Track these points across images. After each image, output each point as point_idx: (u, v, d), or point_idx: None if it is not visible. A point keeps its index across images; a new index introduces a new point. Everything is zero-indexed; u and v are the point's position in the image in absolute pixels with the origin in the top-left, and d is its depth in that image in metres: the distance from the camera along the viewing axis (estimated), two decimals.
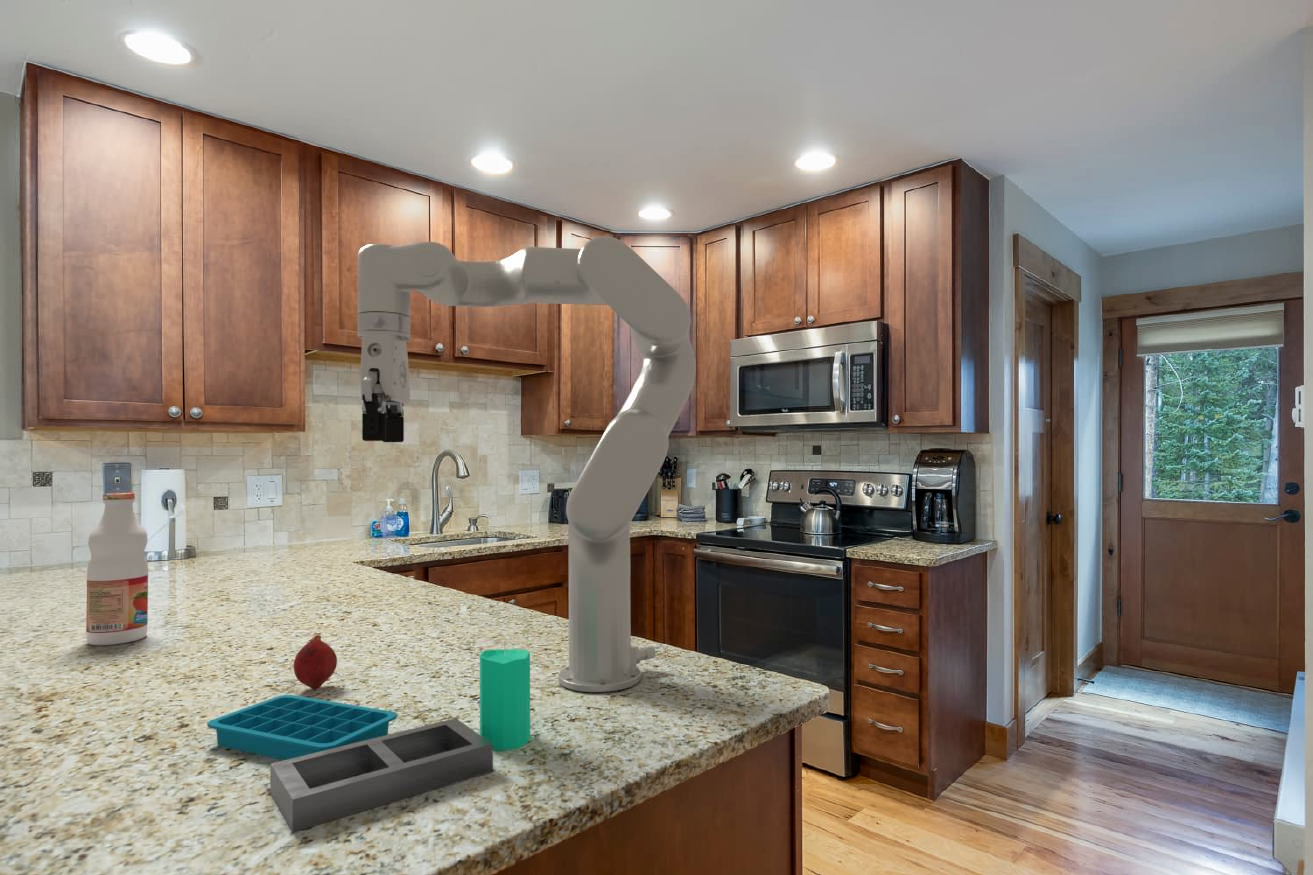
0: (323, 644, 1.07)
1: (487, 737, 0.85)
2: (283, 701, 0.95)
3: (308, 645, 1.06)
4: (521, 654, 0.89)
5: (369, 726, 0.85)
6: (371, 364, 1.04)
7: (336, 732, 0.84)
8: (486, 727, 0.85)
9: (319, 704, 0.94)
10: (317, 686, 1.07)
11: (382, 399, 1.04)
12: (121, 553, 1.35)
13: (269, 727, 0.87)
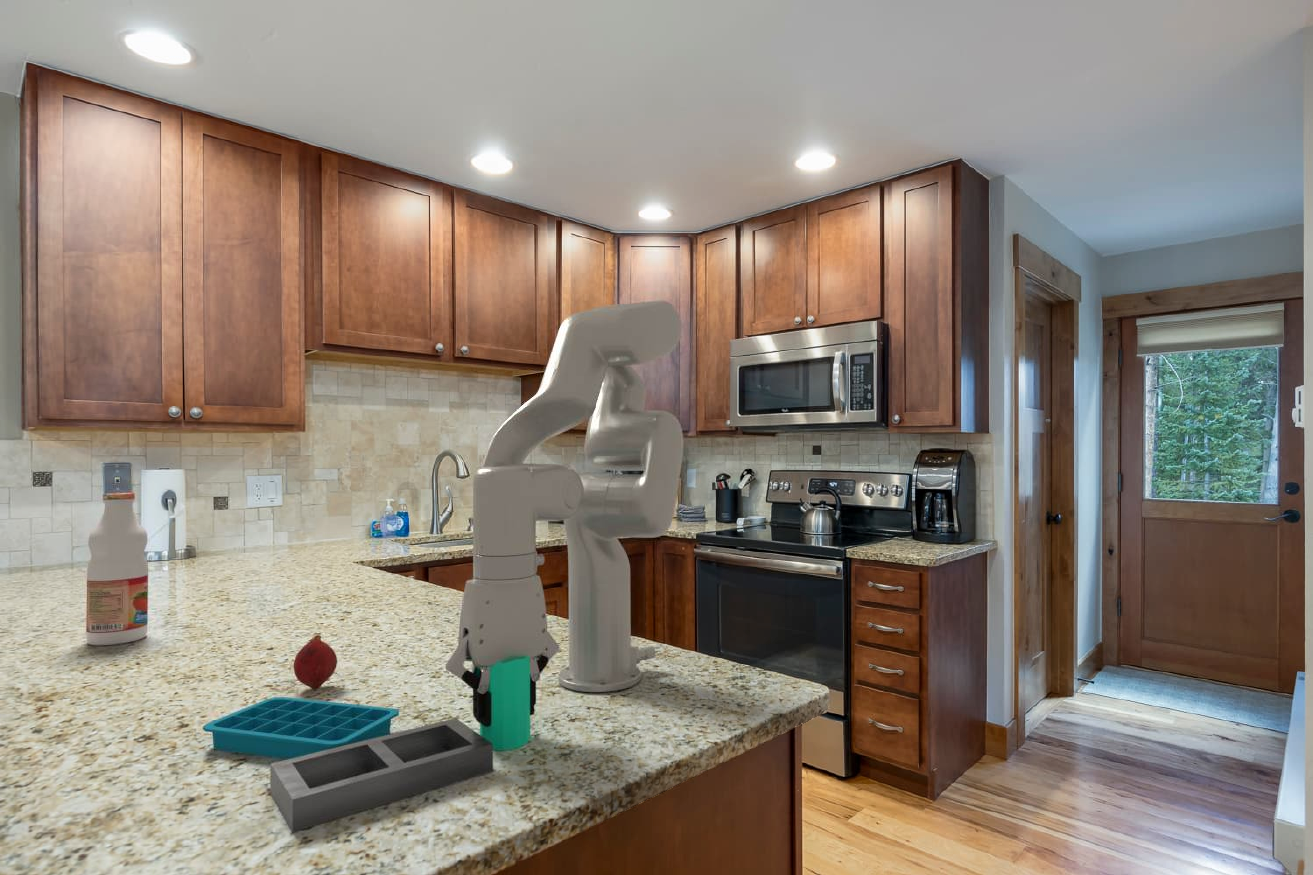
0: (323, 644, 1.07)
1: (487, 737, 0.85)
2: (275, 703, 0.95)
3: (308, 645, 1.06)
4: None
5: (375, 722, 0.86)
6: None
7: (342, 730, 0.84)
8: (486, 727, 0.85)
9: (314, 704, 0.93)
10: (317, 686, 1.07)
11: None
12: (121, 553, 1.35)
13: (268, 728, 0.86)
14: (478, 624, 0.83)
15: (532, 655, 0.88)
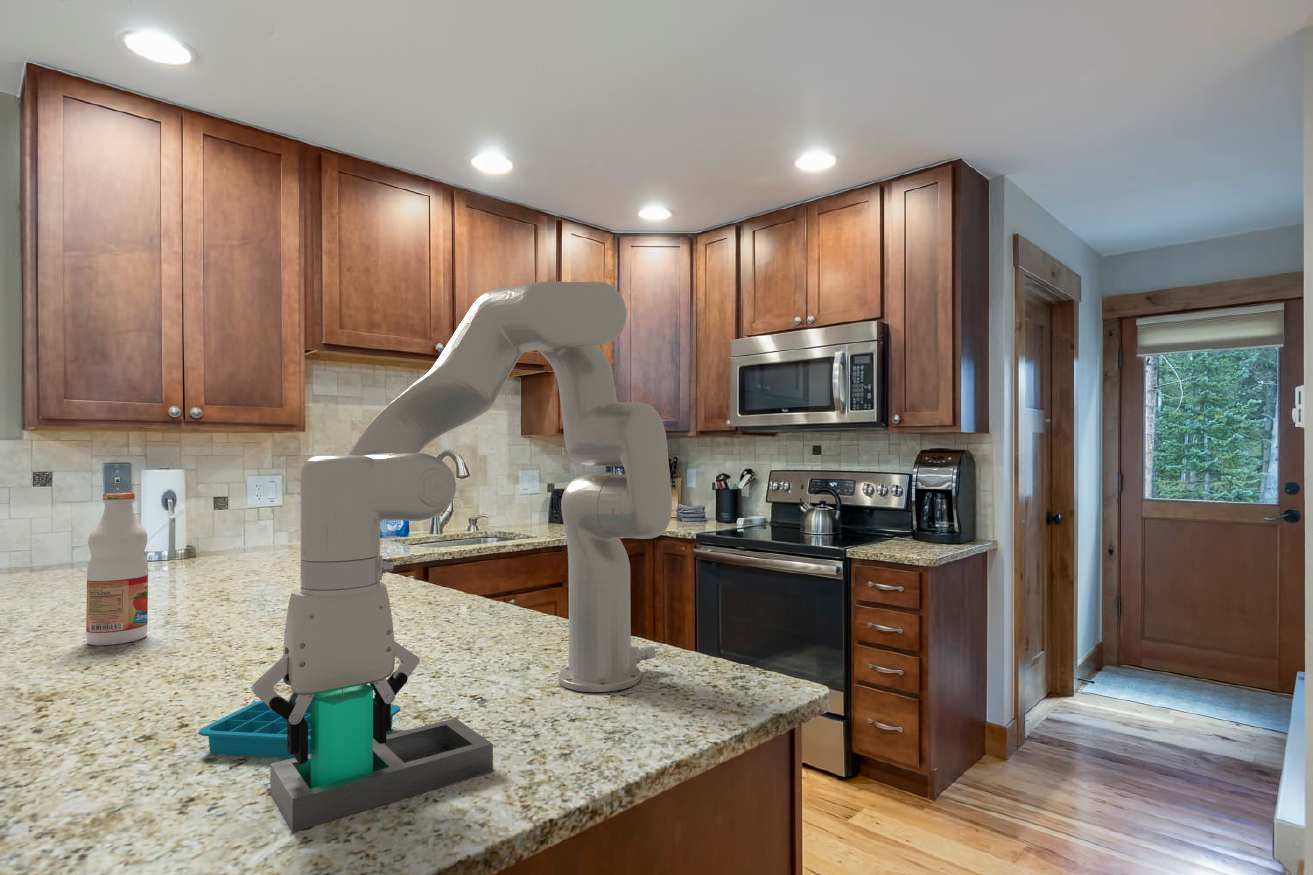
0: None
1: None
2: (263, 706, 0.94)
3: None
4: (364, 691, 0.75)
5: None
6: None
7: None
8: (314, 780, 0.71)
9: None
10: None
11: None
12: (121, 553, 1.35)
13: (268, 730, 0.86)
14: (299, 644, 0.70)
15: (374, 678, 0.74)
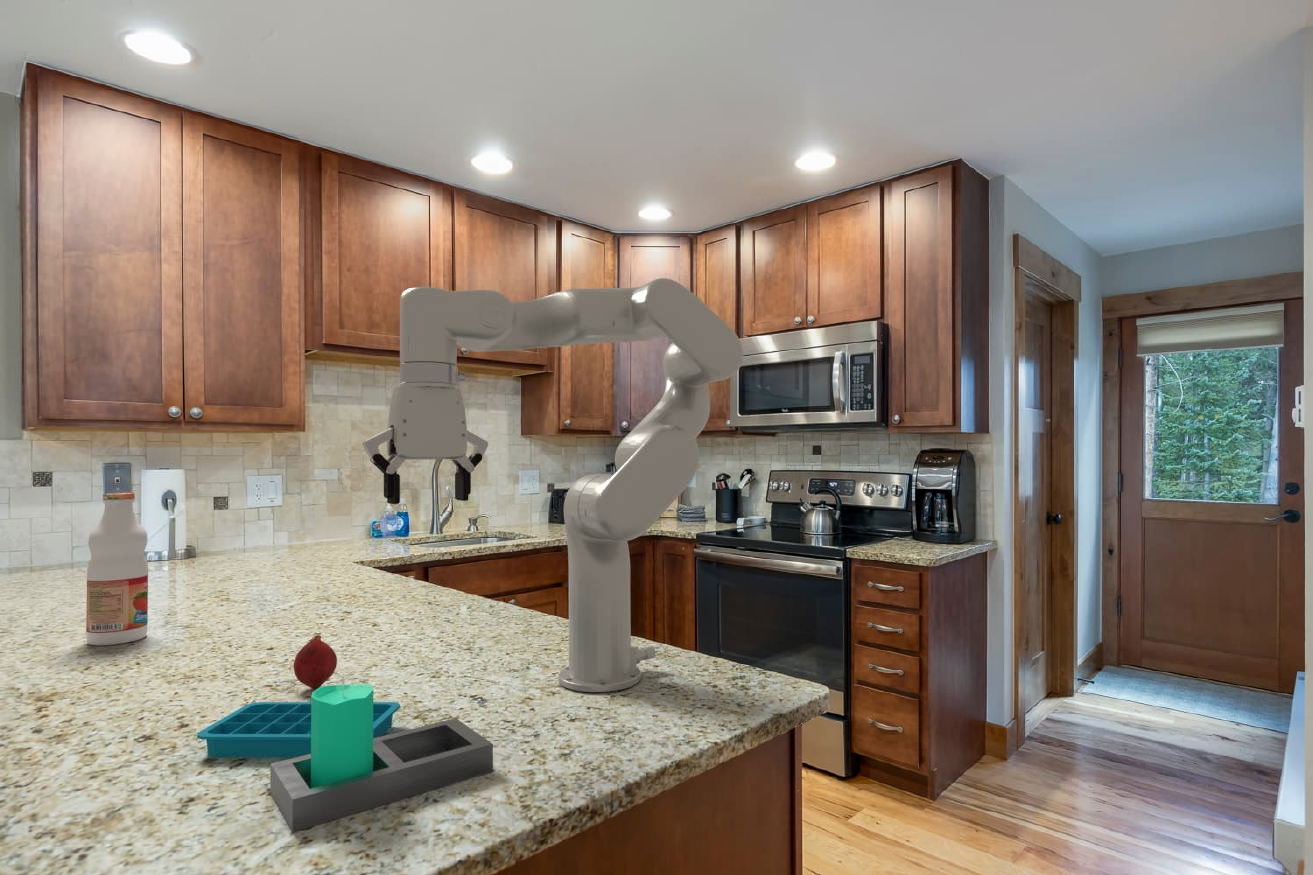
0: (323, 644, 1.07)
1: None
2: (255, 709, 0.93)
3: (308, 645, 1.06)
4: (365, 691, 0.75)
5: (383, 715, 0.89)
6: None
7: None
8: (314, 780, 0.71)
9: (302, 706, 0.93)
10: (317, 686, 1.07)
11: None
12: (121, 553, 1.35)
13: (268, 731, 0.86)
14: (402, 419, 0.95)
15: (453, 455, 1.00)
